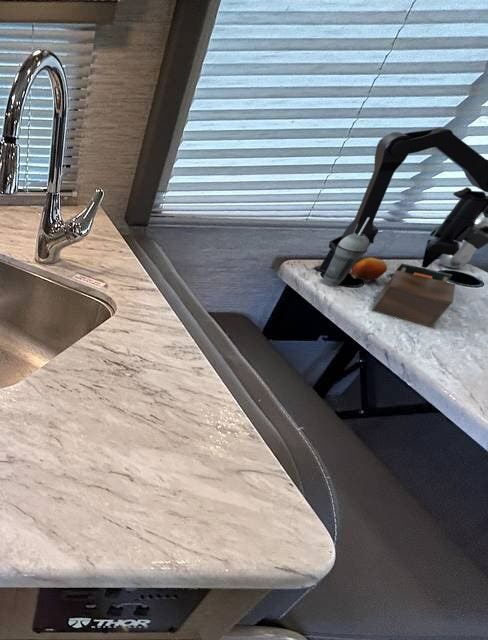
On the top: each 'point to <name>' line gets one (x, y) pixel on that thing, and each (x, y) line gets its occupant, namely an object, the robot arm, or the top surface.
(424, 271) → the drawer
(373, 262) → the fruit
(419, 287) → the cabinet
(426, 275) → the block
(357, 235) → the beverage cup
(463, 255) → the plastic bottle
